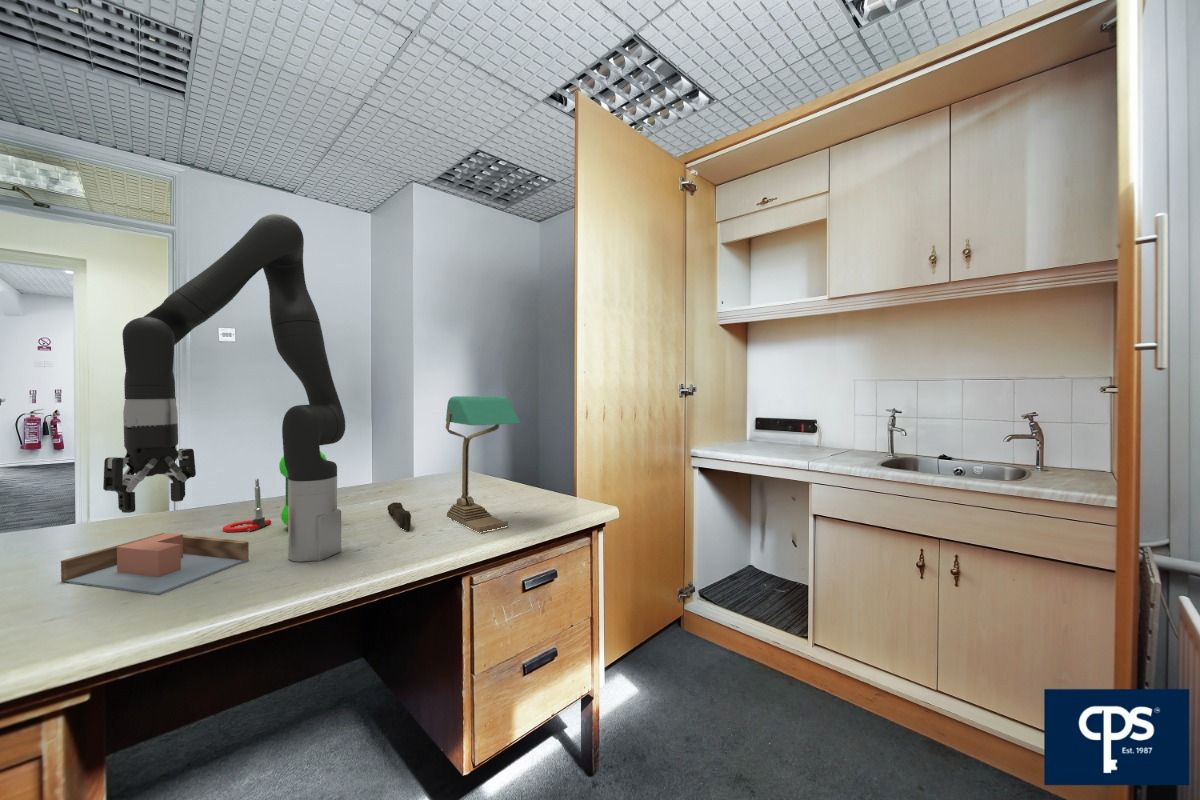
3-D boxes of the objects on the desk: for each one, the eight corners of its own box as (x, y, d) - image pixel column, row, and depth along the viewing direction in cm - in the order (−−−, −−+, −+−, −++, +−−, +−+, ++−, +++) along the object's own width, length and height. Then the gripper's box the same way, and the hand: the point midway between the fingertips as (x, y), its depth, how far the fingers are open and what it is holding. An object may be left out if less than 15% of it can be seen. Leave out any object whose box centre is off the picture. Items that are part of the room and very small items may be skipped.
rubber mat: (248, 560, 99) (248, 558, 99) (158, 594, 82) (158, 592, 82) (163, 550, 103) (163, 548, 103) (61, 581, 87) (61, 579, 87)
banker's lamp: (485, 510, 141) (486, 395, 140) (522, 526, 126) (524, 397, 125) (434, 519, 131) (435, 395, 130) (469, 538, 115) (470, 397, 114)
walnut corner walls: (248, 560, 99) (248, 541, 99) (158, 594, 82) (157, 572, 82) (163, 550, 103) (163, 532, 103) (61, 581, 87) (60, 560, 87)
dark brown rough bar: (387, 516, 134) (387, 500, 134) (402, 514, 136) (402, 498, 136) (396, 535, 118) (396, 516, 118) (413, 532, 120) (413, 514, 120)
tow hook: (213, 534, 117) (249, 533, 116) (211, 483, 117) (246, 482, 116) (241, 524, 125) (274, 523, 125) (239, 476, 125) (272, 476, 124)
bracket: (167, 555, 99) (167, 532, 99) (206, 559, 98) (206, 536, 97) (117, 572, 91) (116, 546, 90) (158, 577, 89) (158, 551, 89)
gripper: (174, 420, 97) (176, 497, 97) (89, 425, 83) (92, 515, 83) (204, 420, 96) (207, 498, 96) (124, 425, 82) (127, 517, 82)
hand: (153, 506), depth 90 cm, fingers open, 8 cm apart
